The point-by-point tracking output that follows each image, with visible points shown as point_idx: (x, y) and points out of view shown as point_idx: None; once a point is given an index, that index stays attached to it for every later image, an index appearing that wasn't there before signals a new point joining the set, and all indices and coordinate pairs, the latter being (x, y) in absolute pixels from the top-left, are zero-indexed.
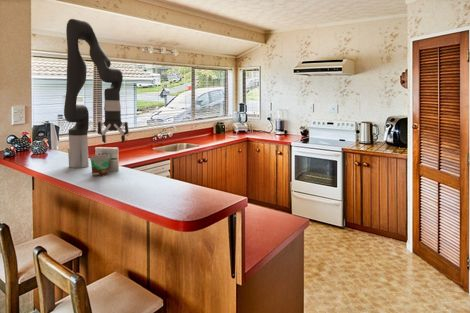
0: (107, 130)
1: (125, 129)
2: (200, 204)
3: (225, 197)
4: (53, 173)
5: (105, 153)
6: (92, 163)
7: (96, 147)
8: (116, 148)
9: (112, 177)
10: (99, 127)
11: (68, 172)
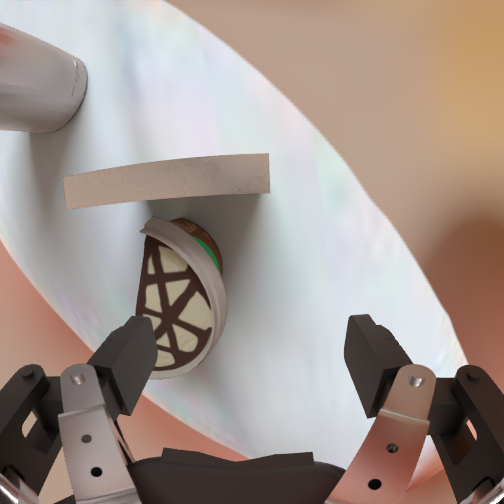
0: (124, 453)
1: (451, 470)
2: (425, 469)
3: None
4: (22, 248)
5: (171, 246)
6: None
7: (66, 177)
8: (255, 192)
9: (261, 332)
10: (32, 479)
11: (51, 228)
